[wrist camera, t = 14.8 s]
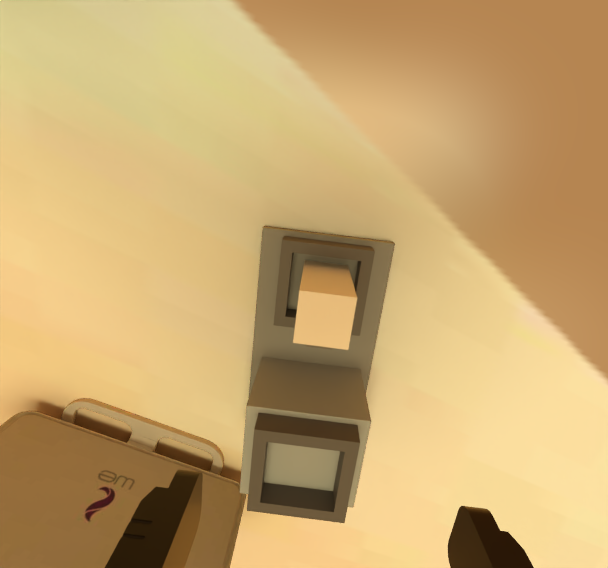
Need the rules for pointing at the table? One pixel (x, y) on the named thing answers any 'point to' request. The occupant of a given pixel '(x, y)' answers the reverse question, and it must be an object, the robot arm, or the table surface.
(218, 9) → the table surface
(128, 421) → the network device
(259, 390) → the grey stepped block
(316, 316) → the plug
